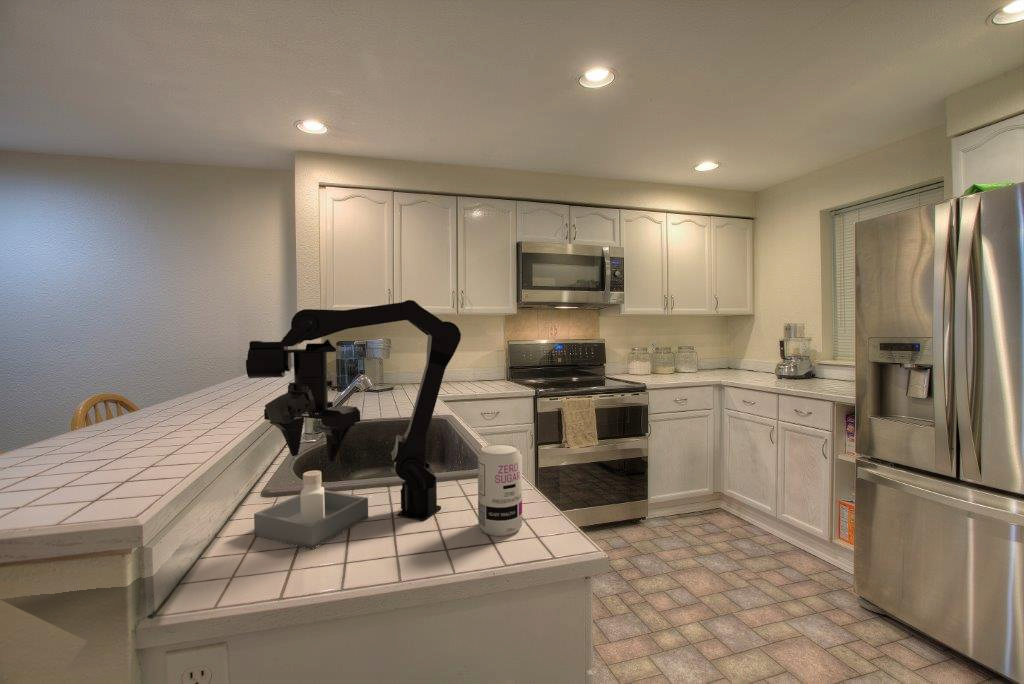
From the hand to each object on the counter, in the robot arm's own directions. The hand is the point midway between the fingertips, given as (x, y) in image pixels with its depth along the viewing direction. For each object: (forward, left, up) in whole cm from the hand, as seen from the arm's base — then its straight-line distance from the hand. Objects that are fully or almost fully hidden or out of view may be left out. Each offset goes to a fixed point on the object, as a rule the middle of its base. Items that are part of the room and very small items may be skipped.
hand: (312, 458), depth 87 cm
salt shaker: (0, 0, -12) cm, 12 cm away
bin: (0, 0, -13) cm, 13 cm away
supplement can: (-33, -13, -13) cm, 38 cm away
